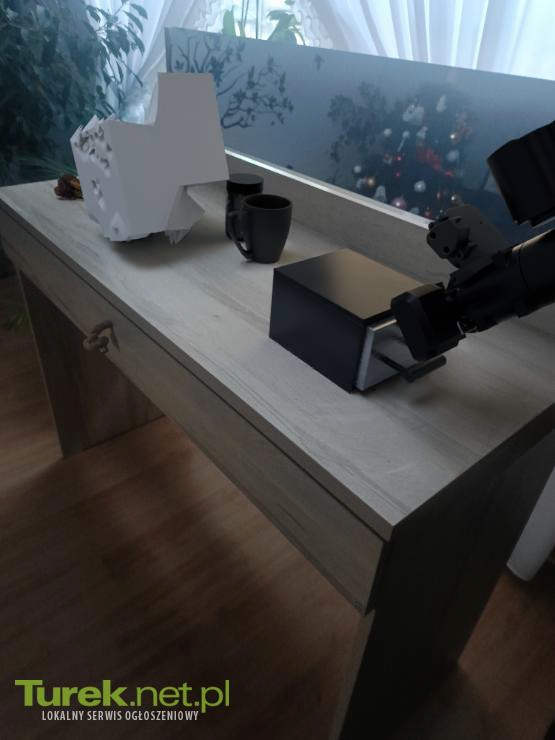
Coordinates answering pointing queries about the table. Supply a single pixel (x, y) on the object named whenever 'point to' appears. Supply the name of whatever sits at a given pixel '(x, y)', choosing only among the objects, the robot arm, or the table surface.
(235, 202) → the supplement container
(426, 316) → the robot arm
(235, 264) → the table surface
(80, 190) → the brown lumpy mound
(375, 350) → the drawer
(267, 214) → the mug
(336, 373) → the cabinet
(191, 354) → the table surface
